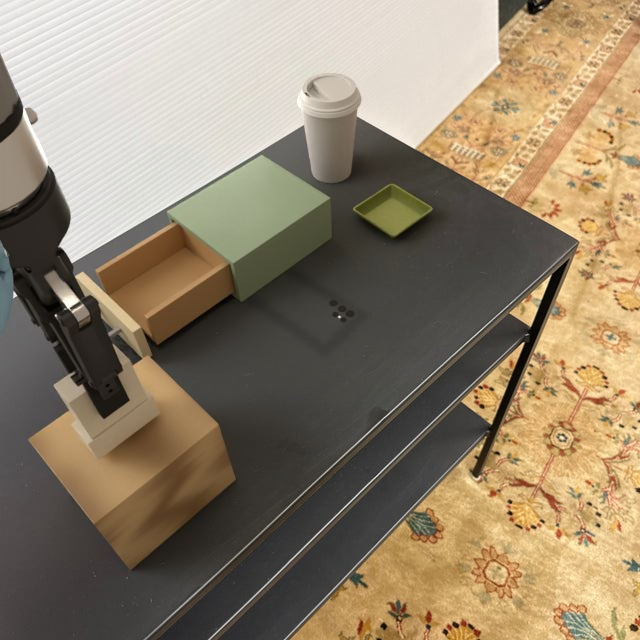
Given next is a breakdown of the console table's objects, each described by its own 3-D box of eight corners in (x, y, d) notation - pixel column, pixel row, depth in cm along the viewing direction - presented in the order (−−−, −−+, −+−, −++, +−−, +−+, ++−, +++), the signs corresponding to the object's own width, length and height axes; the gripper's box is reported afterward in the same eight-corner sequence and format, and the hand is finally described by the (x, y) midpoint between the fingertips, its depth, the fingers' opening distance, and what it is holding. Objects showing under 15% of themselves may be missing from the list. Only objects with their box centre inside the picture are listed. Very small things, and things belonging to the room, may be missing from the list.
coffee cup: (299, 156, 109) (293, 73, 97) (356, 150, 109) (356, 67, 97) (305, 192, 103) (299, 108, 91) (364, 186, 103) (366, 101, 91)
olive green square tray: (351, 218, 98) (351, 208, 97) (391, 192, 102) (391, 182, 100) (393, 247, 94) (393, 236, 92) (433, 218, 97) (434, 208, 96)
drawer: (116, 381, 80) (101, 353, 75) (60, 323, 86) (44, 294, 81) (244, 290, 88) (239, 260, 84) (186, 244, 95) (177, 213, 90)
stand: (130, 570, 66) (93, 524, 56) (69, 492, 71) (27, 439, 62) (236, 479, 72) (219, 424, 62) (172, 414, 77) (147, 354, 68)
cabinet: (241, 302, 88) (233, 263, 82) (177, 251, 95) (166, 211, 89) (332, 237, 96) (330, 197, 90) (267, 194, 103) (261, 154, 97)
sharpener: (98, 460, 59) (64, 408, 52) (81, 440, 61) (46, 387, 54) (160, 413, 62) (136, 358, 55) (143, 395, 64) (117, 339, 57)
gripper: (112, 214, 37) (191, 423, 55) (-13, 110, 45) (93, 324, 63) (-9, 283, 34) (117, 481, 52) (-122, 159, 41) (23, 370, 59)
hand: (104, 395), depth 57 cm, fingers closed on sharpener, 3 cm apart
